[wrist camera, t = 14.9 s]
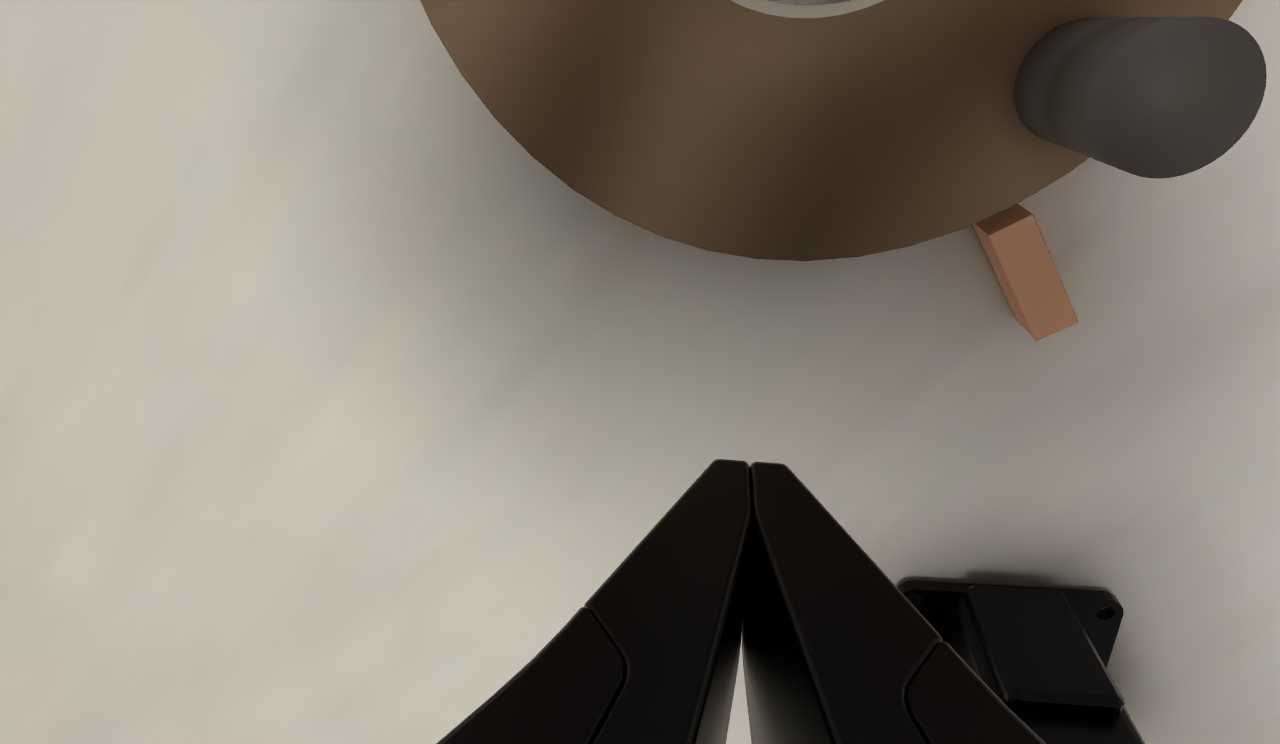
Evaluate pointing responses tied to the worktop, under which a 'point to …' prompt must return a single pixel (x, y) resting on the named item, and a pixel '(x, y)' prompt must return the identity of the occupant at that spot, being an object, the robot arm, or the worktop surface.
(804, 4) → the cap
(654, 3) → the turntable
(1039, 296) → the pointer
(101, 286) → the worktop surface
